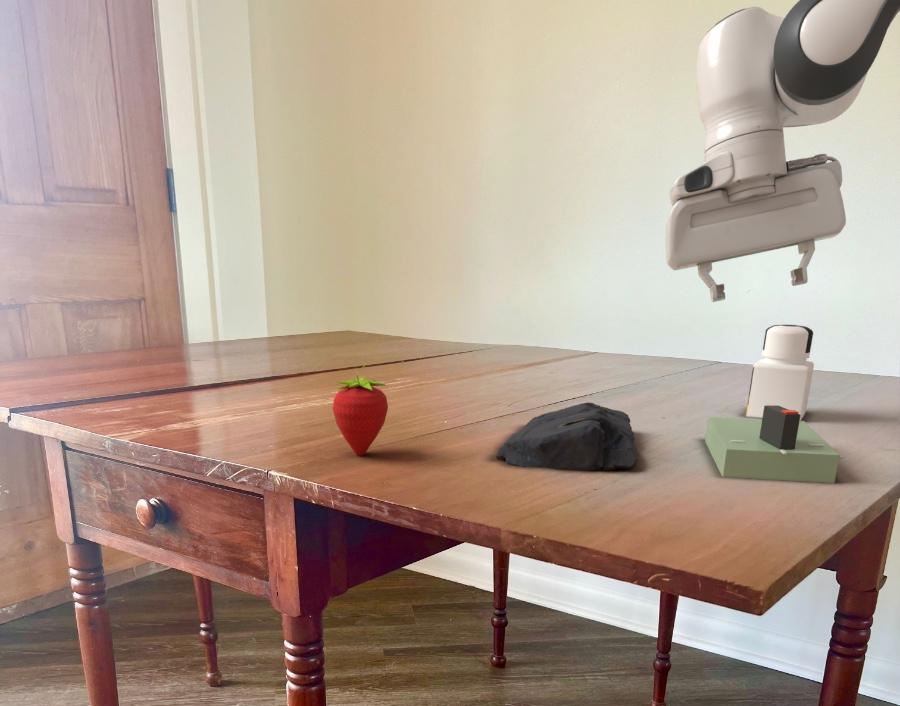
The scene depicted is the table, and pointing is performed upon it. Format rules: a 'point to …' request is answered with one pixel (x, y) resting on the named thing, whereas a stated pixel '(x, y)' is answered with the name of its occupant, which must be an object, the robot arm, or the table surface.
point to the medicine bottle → (782, 371)
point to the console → (769, 452)
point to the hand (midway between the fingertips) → (758, 292)
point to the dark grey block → (779, 426)
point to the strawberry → (360, 412)
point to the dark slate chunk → (574, 440)
